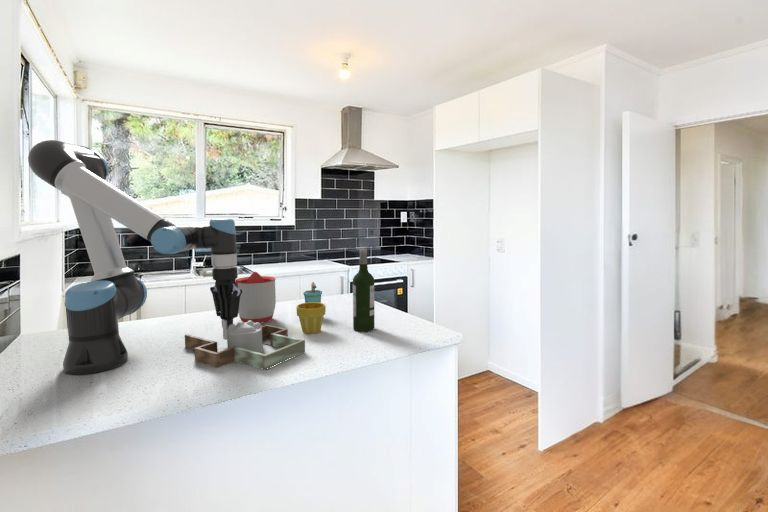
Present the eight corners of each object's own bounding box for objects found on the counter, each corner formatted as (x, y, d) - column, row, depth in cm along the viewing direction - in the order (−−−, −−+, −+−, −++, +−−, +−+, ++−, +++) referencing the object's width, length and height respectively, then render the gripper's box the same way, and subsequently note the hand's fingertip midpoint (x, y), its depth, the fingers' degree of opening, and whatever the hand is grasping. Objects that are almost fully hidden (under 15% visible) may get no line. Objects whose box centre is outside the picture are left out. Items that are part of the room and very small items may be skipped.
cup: (325, 321, 160) (325, 284, 159) (306, 322, 158) (305, 285, 156) (320, 312, 173) (319, 278, 172) (302, 314, 171) (301, 279, 169)
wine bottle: (377, 330, 147) (377, 249, 144) (357, 333, 144) (356, 250, 141) (370, 325, 154) (369, 247, 151) (350, 327, 151) (349, 248, 148)
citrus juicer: (230, 318, 164) (227, 270, 162) (273, 314, 171) (271, 267, 169) (233, 328, 150) (230, 276, 148) (280, 323, 157) (278, 273, 155)
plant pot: (319, 336, 141) (319, 309, 140) (292, 334, 143) (291, 307, 142) (329, 328, 151) (329, 302, 150) (304, 326, 153) (303, 301, 152)
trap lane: (167, 352, 125) (166, 340, 124) (240, 329, 149) (240, 319, 148) (248, 377, 106) (247, 363, 106) (317, 346, 130) (317, 335, 129)
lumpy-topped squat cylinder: (226, 358, 120) (225, 330, 119) (230, 344, 132) (228, 319, 131) (262, 354, 123) (261, 327, 122) (262, 341, 135) (261, 316, 134)
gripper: (248, 266, 128) (251, 338, 131) (221, 264, 135) (224, 332, 137) (228, 269, 122) (232, 344, 125) (201, 266, 128) (205, 338, 131)
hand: (228, 338), depth 131 cm, fingers closed
